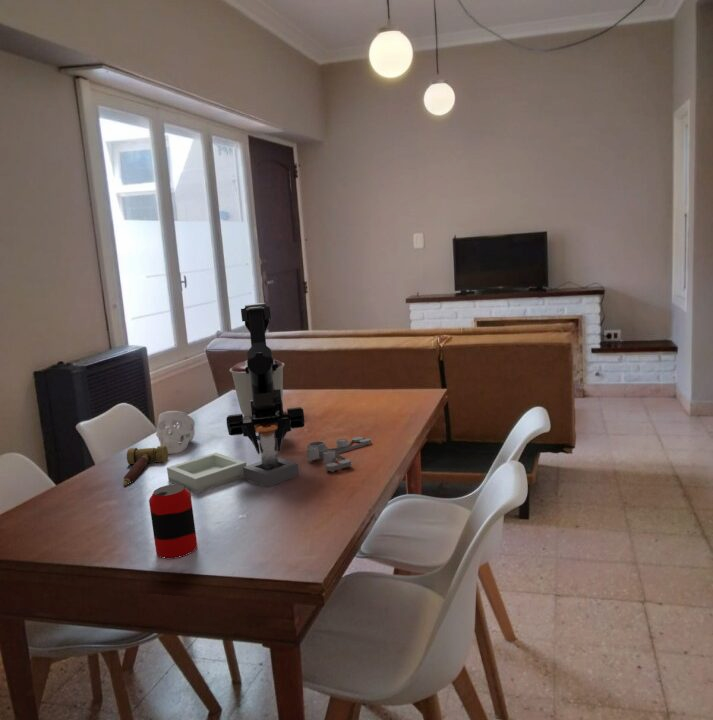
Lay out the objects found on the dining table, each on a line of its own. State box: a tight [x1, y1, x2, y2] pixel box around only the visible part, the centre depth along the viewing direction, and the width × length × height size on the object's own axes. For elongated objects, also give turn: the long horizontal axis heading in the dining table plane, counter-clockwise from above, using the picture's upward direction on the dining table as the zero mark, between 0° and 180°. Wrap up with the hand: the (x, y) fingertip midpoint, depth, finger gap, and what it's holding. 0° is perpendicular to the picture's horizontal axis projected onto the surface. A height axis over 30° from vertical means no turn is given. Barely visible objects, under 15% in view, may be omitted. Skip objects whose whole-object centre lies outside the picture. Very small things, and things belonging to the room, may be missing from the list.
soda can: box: [148, 484, 198, 559], centre depth 128 cm, size 8×8×12 cm
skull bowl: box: [155, 410, 196, 455], centre depth 198 cm, size 10×14×12 cm
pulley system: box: [305, 436, 372, 473], centre depth 178 cm, size 27×5×15 cm
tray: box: [166, 452, 247, 494], centre depth 168 cm, size 14×14×4 cm
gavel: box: [123, 445, 169, 486], centre depth 177 cm, size 21×5×10 cm
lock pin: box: [254, 422, 279, 471], centre depth 164 cm, size 6×6×13 cm
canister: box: [229, 359, 285, 417], centre depth 226 cm, size 18×18×21 cm
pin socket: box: [243, 457, 300, 488], centre depth 165 cm, size 10×10×3 cm
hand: (268, 451), depth 163 cm, fingers closed on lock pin, 4 cm apart
